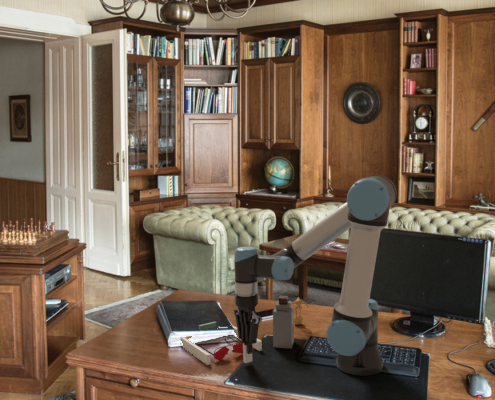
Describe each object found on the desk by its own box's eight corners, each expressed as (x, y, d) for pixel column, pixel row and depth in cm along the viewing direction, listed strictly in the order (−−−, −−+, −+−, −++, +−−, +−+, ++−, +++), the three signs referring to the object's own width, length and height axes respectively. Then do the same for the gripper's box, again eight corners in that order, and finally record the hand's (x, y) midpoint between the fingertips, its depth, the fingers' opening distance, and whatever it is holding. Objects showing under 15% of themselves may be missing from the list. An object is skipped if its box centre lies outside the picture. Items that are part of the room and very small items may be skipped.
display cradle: (261, 350, 200) (261, 332, 199) (207, 365, 188) (206, 346, 187) (232, 333, 217) (232, 317, 216) (180, 346, 205) (180, 329, 204)
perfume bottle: (291, 348, 201) (291, 300, 199) (273, 347, 203) (272, 299, 200) (293, 341, 208) (293, 294, 206) (276, 340, 209) (275, 294, 207)
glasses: (214, 363, 190) (214, 349, 189) (192, 348, 203) (192, 335, 203) (249, 354, 197) (248, 341, 197) (225, 340, 211) (224, 327, 210)
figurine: (307, 322, 228) (307, 294, 227) (309, 327, 222) (309, 298, 221) (287, 323, 228) (286, 294, 227) (288, 328, 222) (288, 299, 221)
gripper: (266, 296, 181) (268, 365, 184) (245, 287, 192) (246, 352, 195) (247, 300, 177) (249, 371, 180) (226, 290, 188) (228, 357, 191)
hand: (247, 361), depth 187 cm, fingers closed
